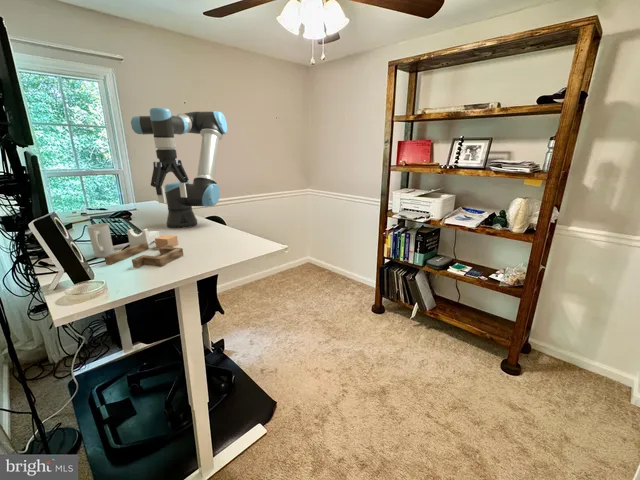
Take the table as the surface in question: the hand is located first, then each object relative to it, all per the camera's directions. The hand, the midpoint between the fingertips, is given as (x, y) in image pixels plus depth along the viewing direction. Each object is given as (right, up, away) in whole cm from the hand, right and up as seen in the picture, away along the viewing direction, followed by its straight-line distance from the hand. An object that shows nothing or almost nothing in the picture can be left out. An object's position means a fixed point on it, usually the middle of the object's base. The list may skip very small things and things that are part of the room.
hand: (173, 200), depth 131 cm
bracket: (-14, -19, +4) cm, 24 cm away
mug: (-21, -24, -13) cm, 34 cm away
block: (-2, -20, -2) cm, 21 cm away
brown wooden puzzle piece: (-2, -25, -16) cm, 29 cm away
